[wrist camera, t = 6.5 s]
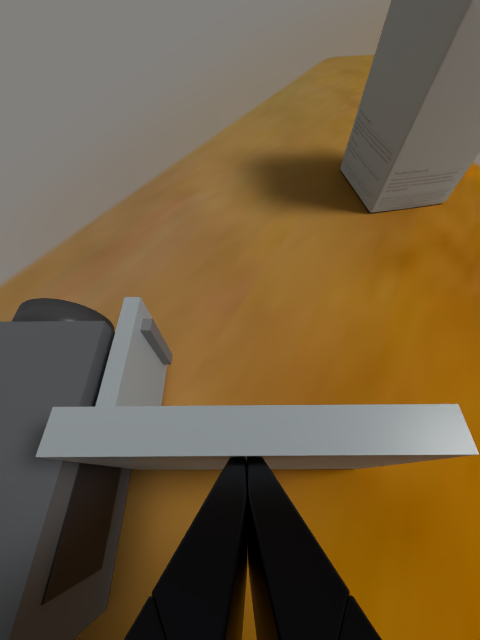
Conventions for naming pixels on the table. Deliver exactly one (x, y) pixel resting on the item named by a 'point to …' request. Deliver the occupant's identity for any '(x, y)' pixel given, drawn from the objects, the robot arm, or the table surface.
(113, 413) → the side door
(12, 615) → the camera body
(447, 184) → the supplement box
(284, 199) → the table surface
